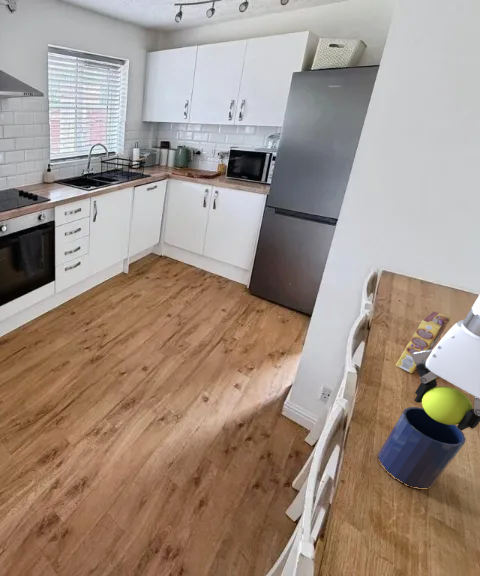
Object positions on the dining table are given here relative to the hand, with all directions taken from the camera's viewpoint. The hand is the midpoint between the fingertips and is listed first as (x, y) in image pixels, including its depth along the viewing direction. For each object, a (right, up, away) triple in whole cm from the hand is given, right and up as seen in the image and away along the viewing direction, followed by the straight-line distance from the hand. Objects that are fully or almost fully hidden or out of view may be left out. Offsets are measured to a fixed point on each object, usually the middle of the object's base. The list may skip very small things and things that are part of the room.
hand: (441, 412), depth 65 cm
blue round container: (-1, -13, +7) cm, 15 cm away
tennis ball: (0, -1, +1) cm, 1 cm away
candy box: (+26, 0, +37) cm, 45 cm away
